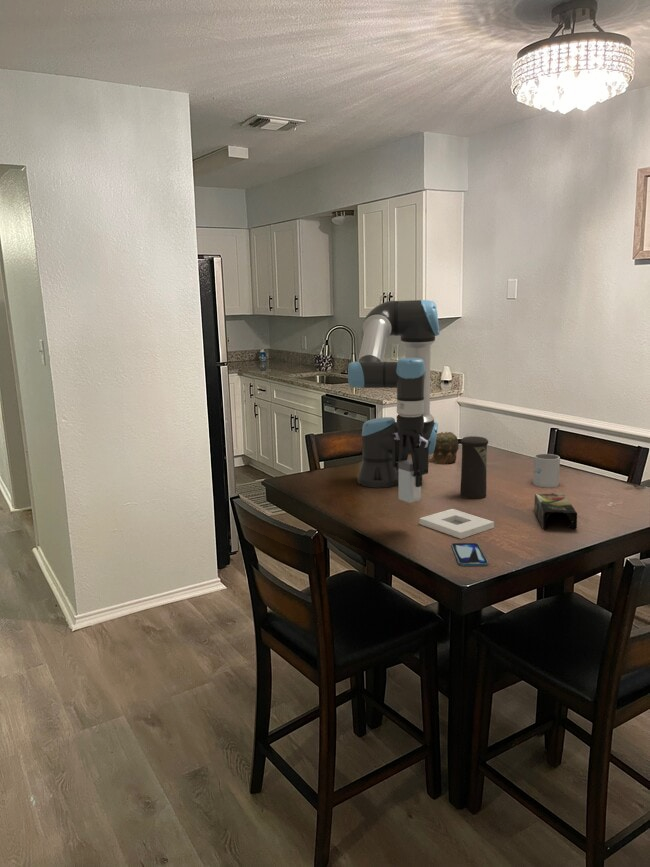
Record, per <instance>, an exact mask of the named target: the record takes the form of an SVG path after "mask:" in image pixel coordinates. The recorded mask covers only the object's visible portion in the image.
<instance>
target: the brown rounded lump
mask: <svg viewBox="0 0 650 867" xmlns="http://www.w3.org/2000/svg"><path fill="white" fill-rule="evenodd" d="M458 451H459V439H458V437H457V435H455V433H453V432H451V431H449V432H448V431H445V432H443V431H441V432H437V438H436V444H435V450H434V452H433V453H432V458H433V459H432V460H433V462H434V463H435V464H438V465H451V464H454V463H455V462H456V461H457V454H458Z"/></svg>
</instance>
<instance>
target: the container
mask: <svg viewBox="0 0 650 867" xmlns="http://www.w3.org/2000/svg"><path fill="white" fill-rule="evenodd" d="M460 444H461V445H462V446H461V471H460V472H461V474H460V489H459V490H460V491H459V492H460V493H459V495H460V496H461V497H463V498H466V499H479V500H480V499H484V498H486V497H487V465H488V464H487V459H488V458H487V456H488V455H487V453H488V444H489V439H488V438H486V437H483V436H476V435H473V436H472V435H471V436H464V437H463V438H461V439H460Z"/></svg>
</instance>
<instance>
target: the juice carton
mask: <svg viewBox="0 0 650 867" xmlns="http://www.w3.org/2000/svg"><path fill="white" fill-rule="evenodd" d="M533 504H534V508H533V510H534V514H535V515H536V516H537V519H538V521H539V524H540V525H541V528H542V530H544V531H547V530H548V529H547V528H546V523H547V520H548V518H549V517H550V515H553V514H559V513H561V514H562V513H563V514H564V515H566V514H567V515H566V516H568V517H567V518H568V519H569V521H570V522H572V523H571V524H570V525H569V526H568V529H570V530H577V529H578V512H577V511H576V509H575V507H574V506H573V505H572V503H571V502H570V500H569V498H568V497H567V496H566V494H562V493H554V492H553V493H552V492H550V493H549V492H548V493H535V494H534V503H533Z"/></svg>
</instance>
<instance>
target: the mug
mask: <svg viewBox="0 0 650 867" xmlns="http://www.w3.org/2000/svg"><path fill="white" fill-rule="evenodd" d="M560 463H561V457H560V456H559V455H557V454H553V453H552V454H551V453H538V454H535V455H533V474H532V476H533V477H532V484H533V485H534V486H536V487H539V488H540V487H541V488H557V487H558V486H559V484H560V483H559V482H560V466H561V464H560Z"/></svg>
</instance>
